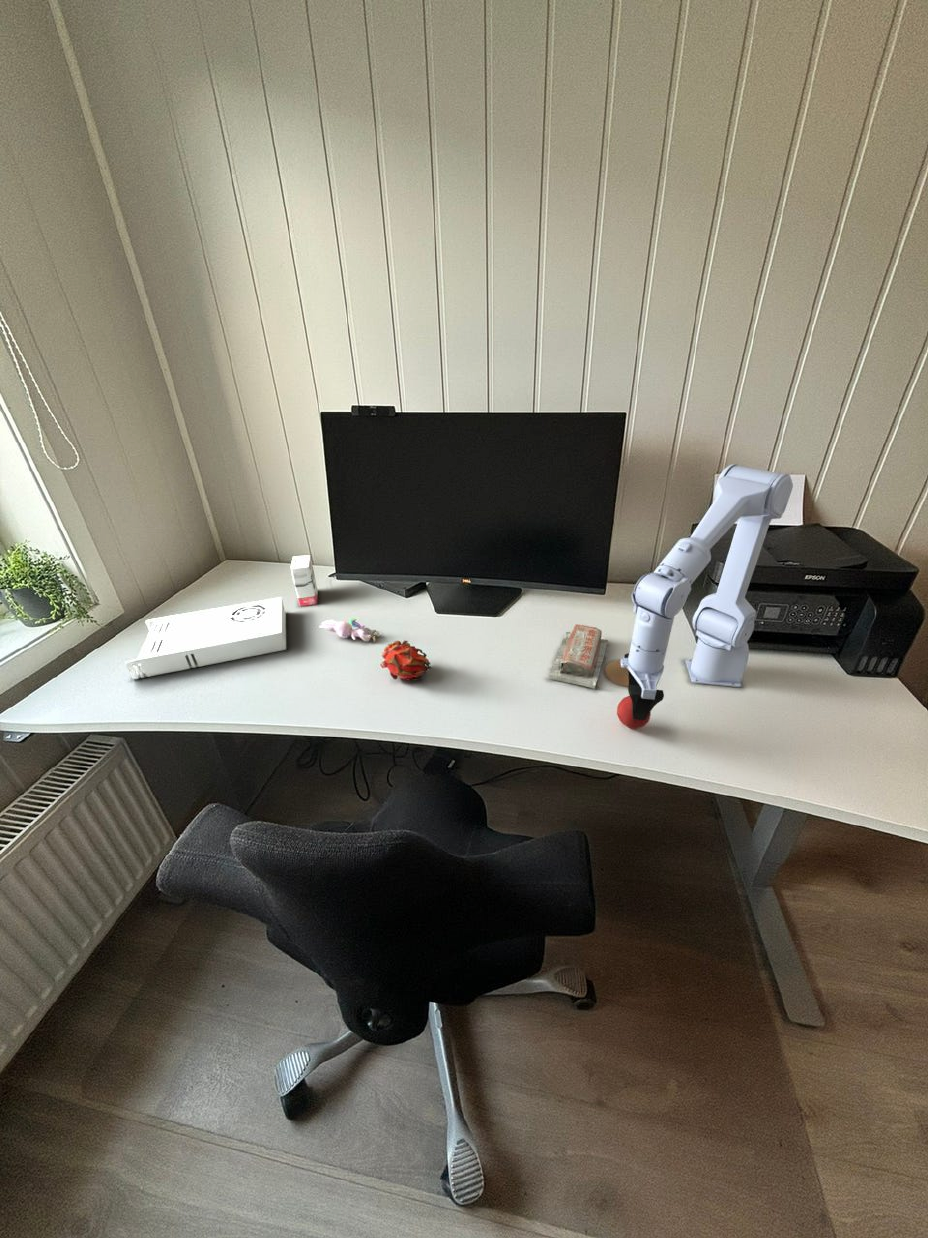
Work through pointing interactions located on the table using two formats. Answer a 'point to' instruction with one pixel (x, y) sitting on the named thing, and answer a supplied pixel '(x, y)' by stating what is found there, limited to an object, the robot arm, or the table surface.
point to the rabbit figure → (349, 629)
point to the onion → (629, 714)
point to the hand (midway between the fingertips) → (636, 704)
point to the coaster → (617, 673)
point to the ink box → (304, 580)
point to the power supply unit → (211, 637)
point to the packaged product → (579, 657)
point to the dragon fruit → (404, 661)
